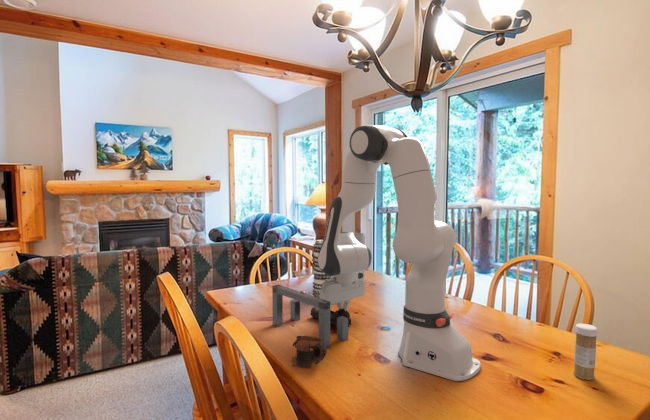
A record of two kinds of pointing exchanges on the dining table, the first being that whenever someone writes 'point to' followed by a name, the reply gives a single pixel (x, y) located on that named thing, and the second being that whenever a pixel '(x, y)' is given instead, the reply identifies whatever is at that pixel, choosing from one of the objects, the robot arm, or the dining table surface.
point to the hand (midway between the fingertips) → (342, 312)
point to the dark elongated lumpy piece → (332, 315)
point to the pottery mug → (308, 351)
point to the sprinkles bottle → (585, 351)
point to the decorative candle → (318, 271)
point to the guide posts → (341, 321)
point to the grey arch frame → (305, 298)
